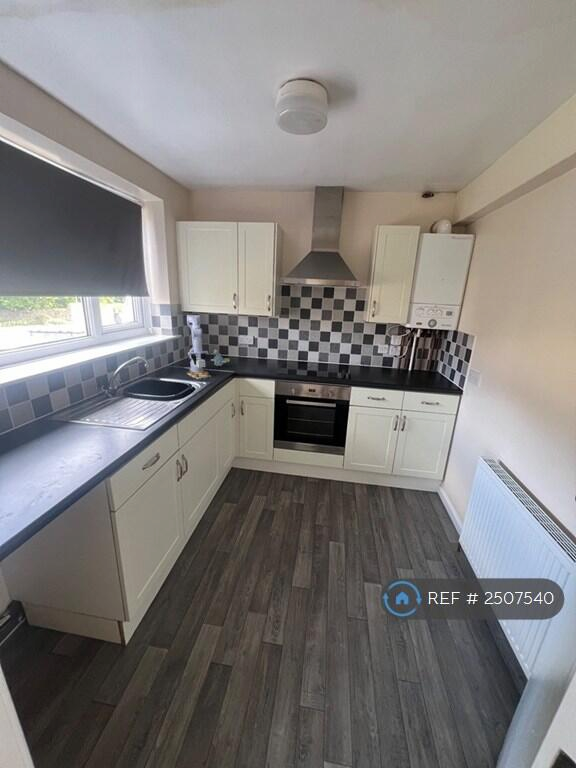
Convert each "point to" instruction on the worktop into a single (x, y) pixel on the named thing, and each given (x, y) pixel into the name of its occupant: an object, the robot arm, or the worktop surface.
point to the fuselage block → (199, 363)
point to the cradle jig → (199, 374)
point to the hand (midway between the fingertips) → (198, 364)
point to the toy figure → (219, 359)
